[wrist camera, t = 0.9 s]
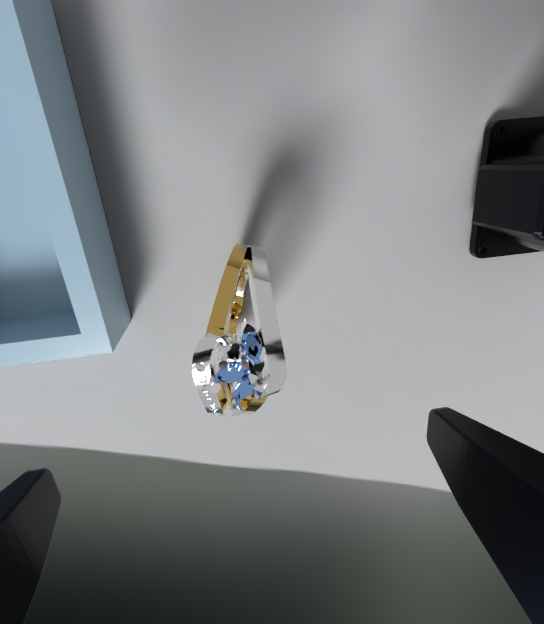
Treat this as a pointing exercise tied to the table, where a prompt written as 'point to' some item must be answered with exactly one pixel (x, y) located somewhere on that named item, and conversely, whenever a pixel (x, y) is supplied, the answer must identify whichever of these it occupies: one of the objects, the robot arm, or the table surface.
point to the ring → (230, 351)
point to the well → (49, 205)
